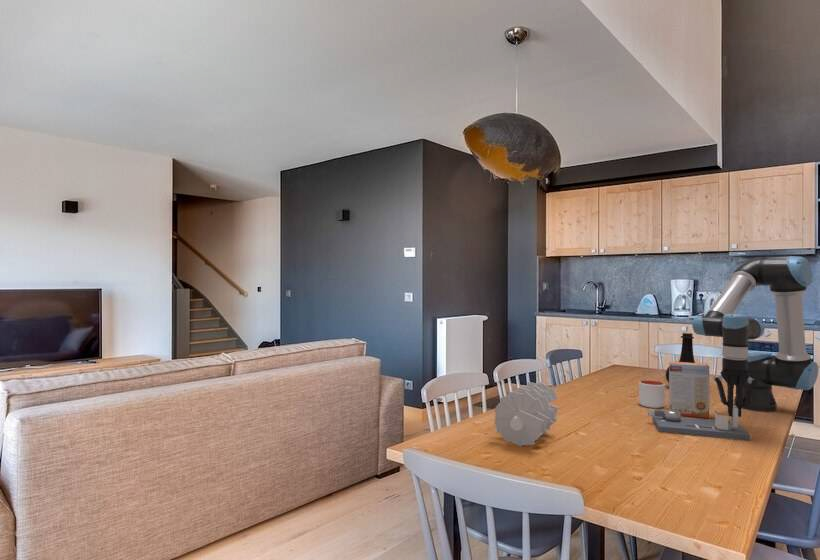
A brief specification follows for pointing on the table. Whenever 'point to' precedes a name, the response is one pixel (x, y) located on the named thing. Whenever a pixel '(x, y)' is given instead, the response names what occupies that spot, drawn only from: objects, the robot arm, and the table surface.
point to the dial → (666, 414)
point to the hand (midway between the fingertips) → (734, 425)
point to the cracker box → (689, 388)
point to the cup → (652, 394)
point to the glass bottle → (685, 351)
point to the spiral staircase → (526, 413)
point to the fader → (721, 419)
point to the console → (700, 428)
